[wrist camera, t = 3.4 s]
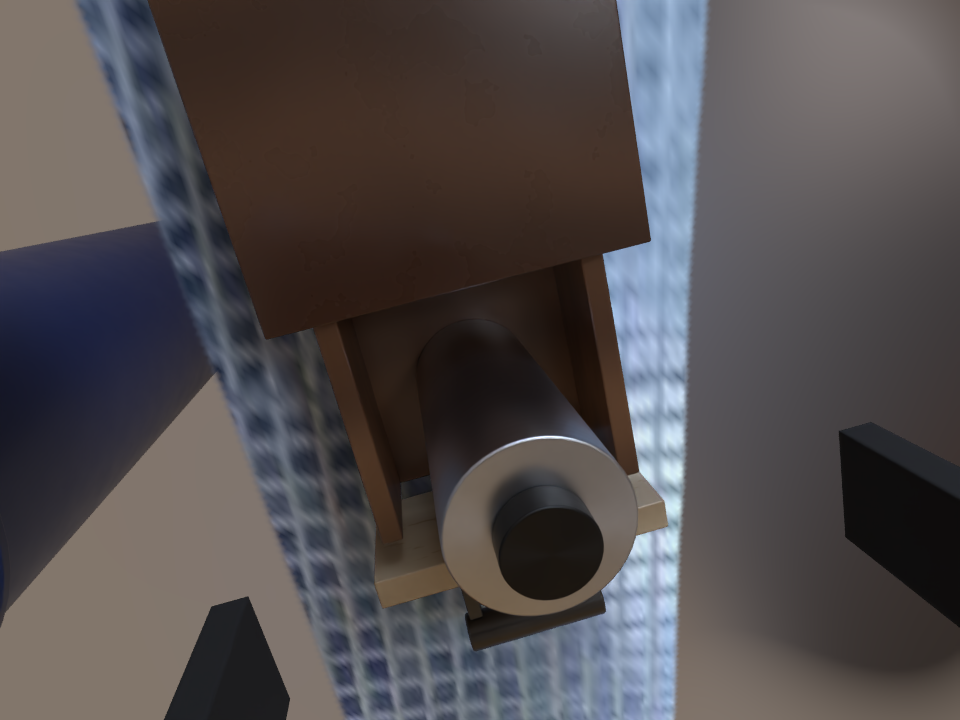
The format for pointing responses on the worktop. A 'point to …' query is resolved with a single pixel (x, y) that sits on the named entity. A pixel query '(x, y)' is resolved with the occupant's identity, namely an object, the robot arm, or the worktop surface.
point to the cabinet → (406, 143)
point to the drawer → (399, 429)
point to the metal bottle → (517, 477)
